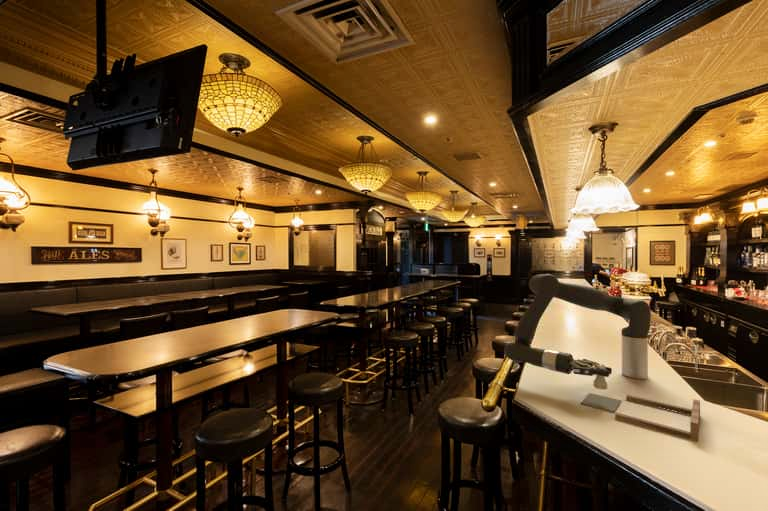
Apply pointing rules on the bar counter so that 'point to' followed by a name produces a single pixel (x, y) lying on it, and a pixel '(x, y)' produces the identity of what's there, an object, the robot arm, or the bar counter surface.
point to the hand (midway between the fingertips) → (609, 372)
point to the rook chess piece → (600, 379)
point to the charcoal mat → (601, 402)
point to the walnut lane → (667, 429)
